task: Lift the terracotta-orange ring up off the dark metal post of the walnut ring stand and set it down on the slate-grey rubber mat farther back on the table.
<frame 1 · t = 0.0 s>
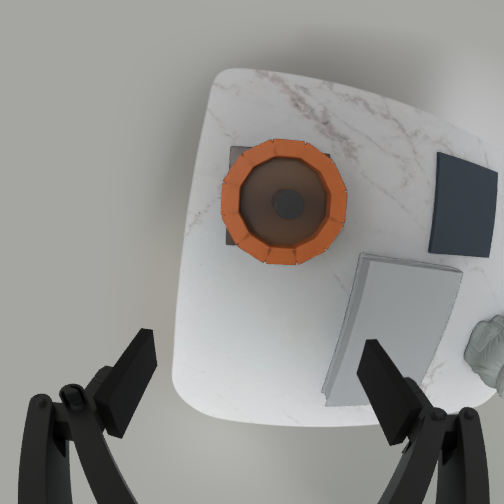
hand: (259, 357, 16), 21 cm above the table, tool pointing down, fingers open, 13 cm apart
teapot: (489, 334, 40), on the table
ring: (283, 201, 26), point 8 cm above the table, touching ring stand
mat: (466, 208, 34), on the table
book: (391, 332, 39), on the table
ring stand: (277, 197, 34), on the table
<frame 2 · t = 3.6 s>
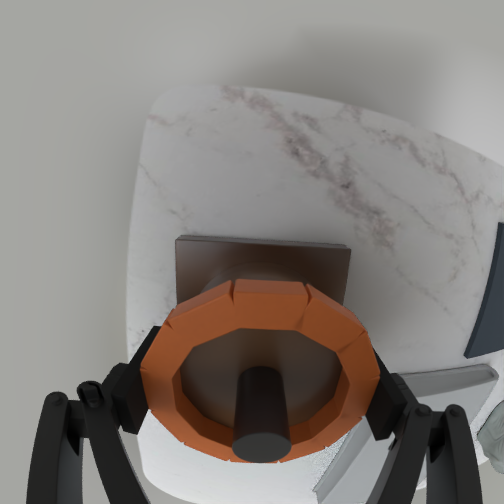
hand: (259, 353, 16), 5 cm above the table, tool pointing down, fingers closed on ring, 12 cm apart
ring: (260, 383, 13), point 8 cm above the table, touching gripper, ring stand
book: (400, 439, 26), on the table
ring stand: (258, 316, 21), on the table
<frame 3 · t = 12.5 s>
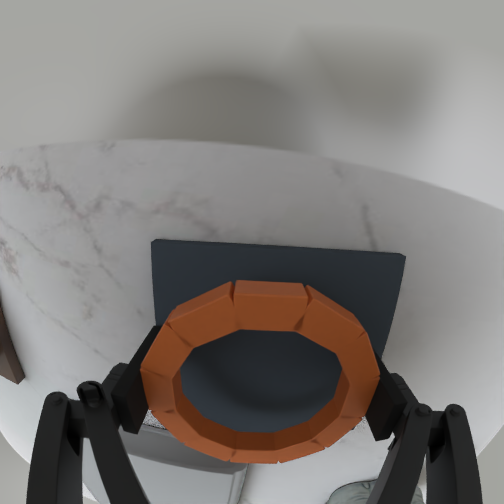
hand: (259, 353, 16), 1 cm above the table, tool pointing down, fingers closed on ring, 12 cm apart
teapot: (380, 486, 23), on the table
ring: (260, 383, 13), point 4 cm above the table, touching gripper
mat: (273, 357, 17), on the table
book: (160, 480, 23), on the table
when the fingers open (3 cm above the table, at t = 33.8 s): ring drops 5 cm, resting on mat.
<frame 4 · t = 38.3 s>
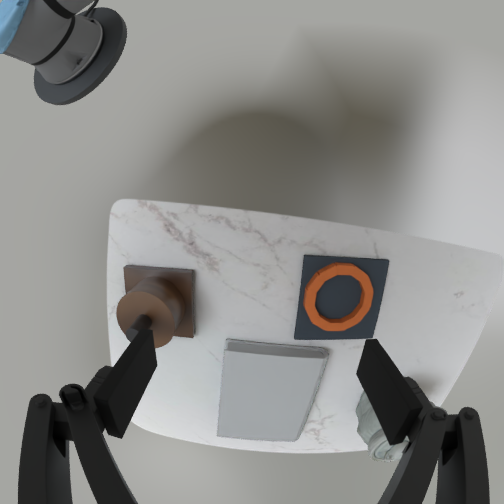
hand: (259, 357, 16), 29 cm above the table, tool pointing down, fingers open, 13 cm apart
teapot: (388, 394, 51), on the table
ring: (337, 296, 45), point 1 cm above the table, touching mat
mat: (341, 299, 46), on the table
book: (267, 391, 51), on the table
ring stand: (160, 300, 46), on the table
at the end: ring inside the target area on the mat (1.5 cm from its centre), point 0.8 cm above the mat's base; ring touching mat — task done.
